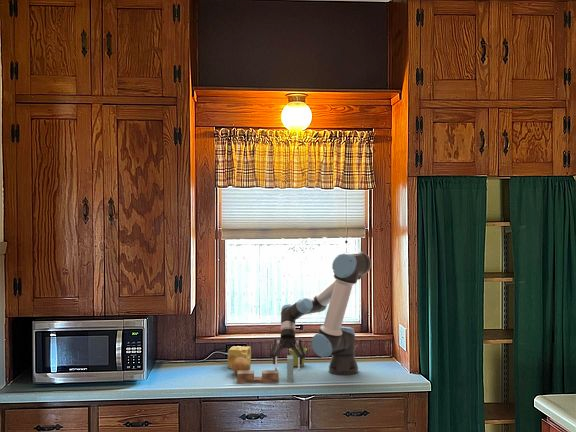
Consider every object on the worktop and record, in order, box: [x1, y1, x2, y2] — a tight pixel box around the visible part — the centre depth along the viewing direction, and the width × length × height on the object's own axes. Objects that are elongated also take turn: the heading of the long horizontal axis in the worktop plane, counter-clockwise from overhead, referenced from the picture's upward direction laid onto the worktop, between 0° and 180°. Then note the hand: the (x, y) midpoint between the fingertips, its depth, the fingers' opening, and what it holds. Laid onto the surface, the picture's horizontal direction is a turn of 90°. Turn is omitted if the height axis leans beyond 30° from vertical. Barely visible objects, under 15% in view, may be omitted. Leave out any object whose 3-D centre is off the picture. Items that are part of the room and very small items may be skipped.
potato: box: [231, 357, 251, 375], centre depth 335 cm, size 10×14×8 cm
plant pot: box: [288, 347, 308, 367], centre depth 353 cm, size 9×9×9 cm
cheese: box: [227, 345, 252, 369], centre depth 352 cm, size 10×11×10 cm
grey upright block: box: [286, 354, 294, 382], centre depth 325 cm, size 8×3×11 cm, turn 1°
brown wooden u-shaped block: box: [236, 369, 280, 384], centre depth 321 cm, size 20×6×4 cm, turn 91°
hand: (287, 369), depth 324 cm, fingers open, 10 cm apart
